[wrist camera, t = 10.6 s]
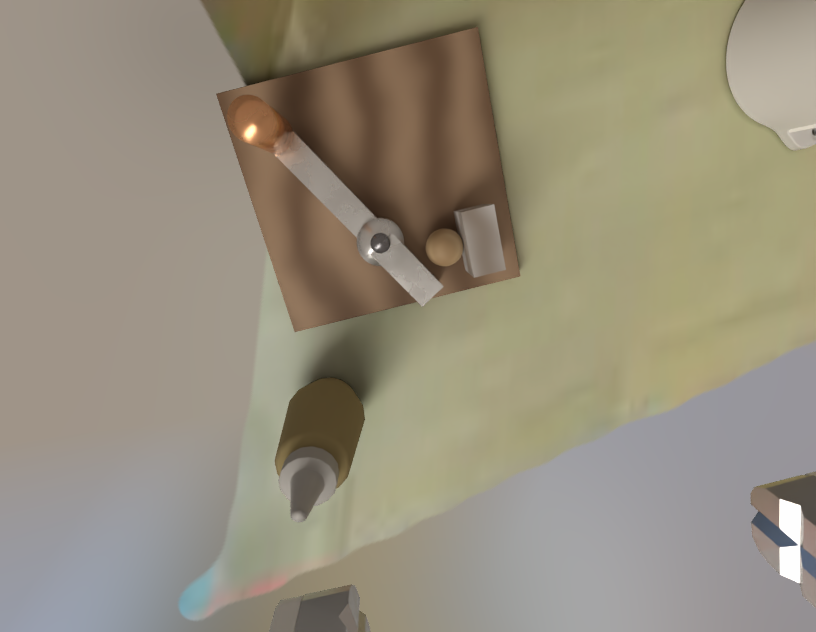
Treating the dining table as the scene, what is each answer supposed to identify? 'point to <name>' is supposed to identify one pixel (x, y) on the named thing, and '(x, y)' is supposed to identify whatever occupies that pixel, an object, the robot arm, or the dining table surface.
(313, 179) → the lever
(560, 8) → the dining table surface
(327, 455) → the squeeze bottle
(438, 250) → the tan wooden ball
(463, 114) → the walnut board
